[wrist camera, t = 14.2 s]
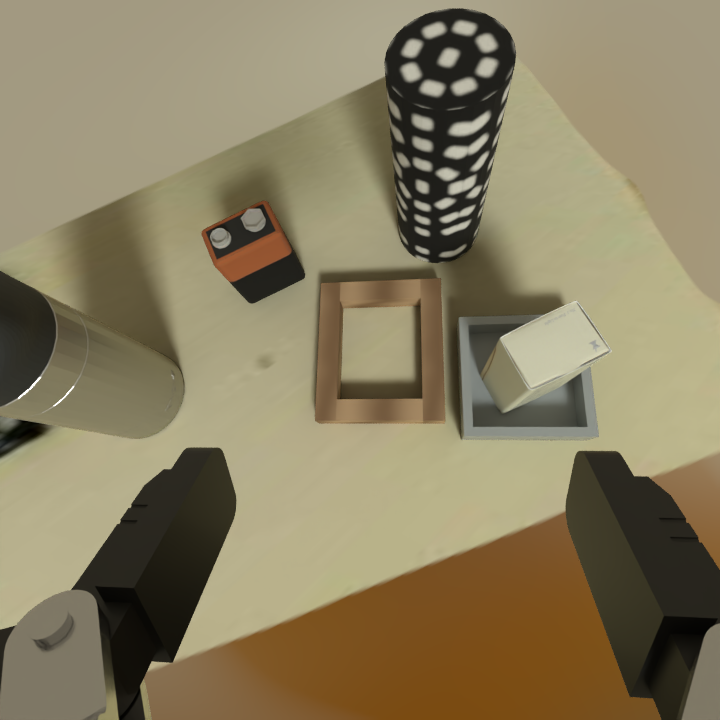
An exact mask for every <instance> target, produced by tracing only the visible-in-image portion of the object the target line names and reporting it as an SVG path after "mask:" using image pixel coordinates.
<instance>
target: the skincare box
mask: <svg viewBox="0 0 720 720" xmlns="http://www.w3.org/2000/svg"><path fill="white" fill-rule="evenodd" d="M611 351H612V350H611V349H610V347H609V346H608V344H607V343H606V341H605V340H604V338H603V337H602V335H601V334H600V332H599V330H598V329H597V328H596V326H595V325H594V323H593V322H592V320H591V319H590V317H589V316H588V314H587V313H586V312H585V310H584V309H583V308H582V306H581V305H580V303H579V302H578V301H574V302H571V303H569V304H566V305H564V306H562V307H560V308H558V309H555V310H553V311H551V312H549V313H547V314H545V315H543V316H541V317H539V318H537V319H535V320H533V321H531V322H529V323H527V324H525V325H523V326H521V327H519V328H517V329H515V330H513V331H511V332H509V333H507V334H505V335H504V336H502V337H500V339H499V341H498V342H497V344H496V346H495V348H494V350H493V352H492V354H491V355H490V357H489V359H488V361H487V363H486V365H485V366H484V368H483V370H482V372H481V374H480V377H481V379H482V380H483V382H484V384H485V386H486V388H487V390H488V392H489V394H490V395H491V397H492V399H493V401H494V403H495V404H496V406H497V408H498V410H499V411H500V413H502V414H504V413H506V412H508V411H511V410H513V409H515V408H517V407H520V406H522V405H524V404H526V403H528V402H530V401H533V400H535V399H537V398H539V397H541V396H543V395H545V394H547V393H549V392H551V391H553V390H555V389H557V388H559V387H561V386H562V385H563V384H565V383H566V382H568V381H569V380H571V379H572V378H574V377H575V376H577V375H578V374H580V373H581V372H583V371H584V370H586V369H587V368H589V367H590V366H592V365H593V364H595V363H596V362H598V361H599V360H600V359H602V358H604V357H605V356H606V355H608V354H609V353H611Z"/></svg>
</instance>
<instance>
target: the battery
mask: <svg viewBox="0 0 720 720" xmlns="http://www.w3.org/2000/svg"><path fill="white" fill-rule="evenodd" d="M202 237H203V239H204V242H205V244H206V247H207V249H208V251H209V254H210V256H211V259H212V261H213V264H214V266H215V267H216V268H217V269H218V270H219V271H220V272H221V273H222V275H223V276H224V277H225V278H226V279H227V280H228V281H229V282H230V283H231V284H232V285H233V286H234V287H235V288H236V290H237V291H238V292H239V293H240V294H241V295H242V296H243V297H244V298H245V299H246V300H247V301H248V302H249V303H255V302H257V301H259V300H261V299H263V298H265V297H267V296H270V295H272V294H274V293H276V292H278V291H280V290H282V289H284V288H286V287H288V286H290V285H292V284H294V283H296V282H298V281H300V280H302V279H304V277H305V273H304V271H303V269H302V267H301V265H300V262H299V260H298V258H297V256H296V254H295V252H294V250H293V248H292V246H291V244H290V242H289V240H288V239H287V237H286V235H285V233H284V231H283V229H282V227H281V226H280V224H279V222H278V220H277V218H276V216H275V214H274V213H273V211H272V209H271V207H270V205H269V203H268V202H267V201H261V202H259V203H257V204H255V205H253V206H250V207H248V208H246V209H244V210H242V211H240V212H238V213H236V214H234V215H232V216H230V217H228V218H226V219H224V220H222V221H220V222H218V223H216V224H214V225H212V226H210V227H208V228H206V229H204V230H203V231H202Z"/></svg>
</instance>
